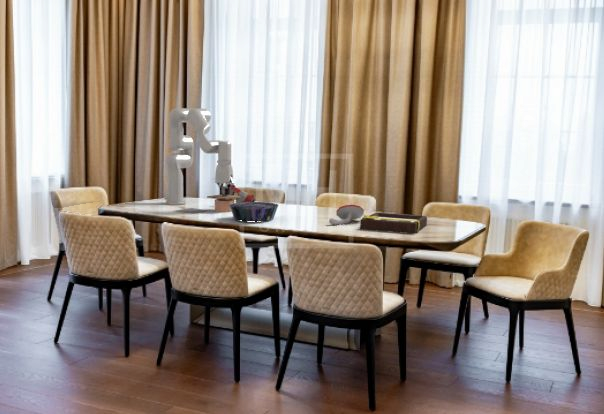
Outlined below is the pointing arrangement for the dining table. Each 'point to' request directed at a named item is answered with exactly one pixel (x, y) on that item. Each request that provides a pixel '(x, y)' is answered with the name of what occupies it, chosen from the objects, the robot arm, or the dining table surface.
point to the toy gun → (244, 196)
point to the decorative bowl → (253, 211)
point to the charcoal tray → (192, 210)
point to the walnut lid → (224, 195)
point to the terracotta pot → (223, 205)
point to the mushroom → (347, 214)
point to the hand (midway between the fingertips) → (224, 194)
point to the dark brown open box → (393, 222)
